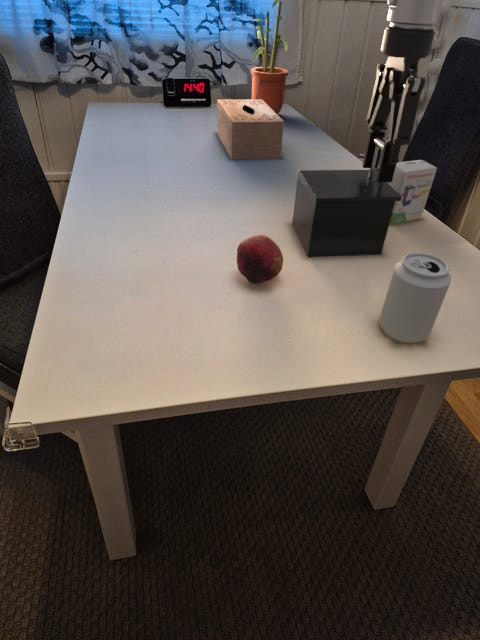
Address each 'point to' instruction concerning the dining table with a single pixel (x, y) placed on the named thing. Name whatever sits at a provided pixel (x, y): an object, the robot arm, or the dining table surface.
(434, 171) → the ink box
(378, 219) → the bin
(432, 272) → the can
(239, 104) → the tissue box cover
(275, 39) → the potted plant
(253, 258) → the fruit
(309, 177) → the bin lid
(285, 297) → the dining table surface
